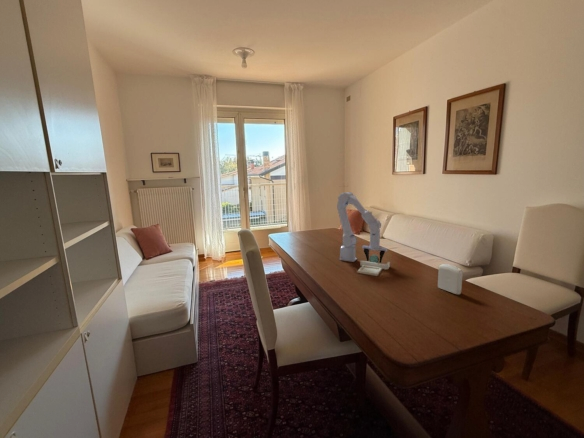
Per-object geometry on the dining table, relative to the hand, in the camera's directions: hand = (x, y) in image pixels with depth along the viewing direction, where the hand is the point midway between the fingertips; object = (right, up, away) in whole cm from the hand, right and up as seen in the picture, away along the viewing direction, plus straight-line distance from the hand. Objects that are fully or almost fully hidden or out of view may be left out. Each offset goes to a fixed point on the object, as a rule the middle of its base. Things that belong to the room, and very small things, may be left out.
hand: (374, 261), depth 163 cm
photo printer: (+23, -7, -39) cm, 46 cm away
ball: (0, -1, 0) cm, 1 cm away
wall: (-1, -2, -4) cm, 5 cm away
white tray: (-6, -4, -13) cm, 15 cm away
